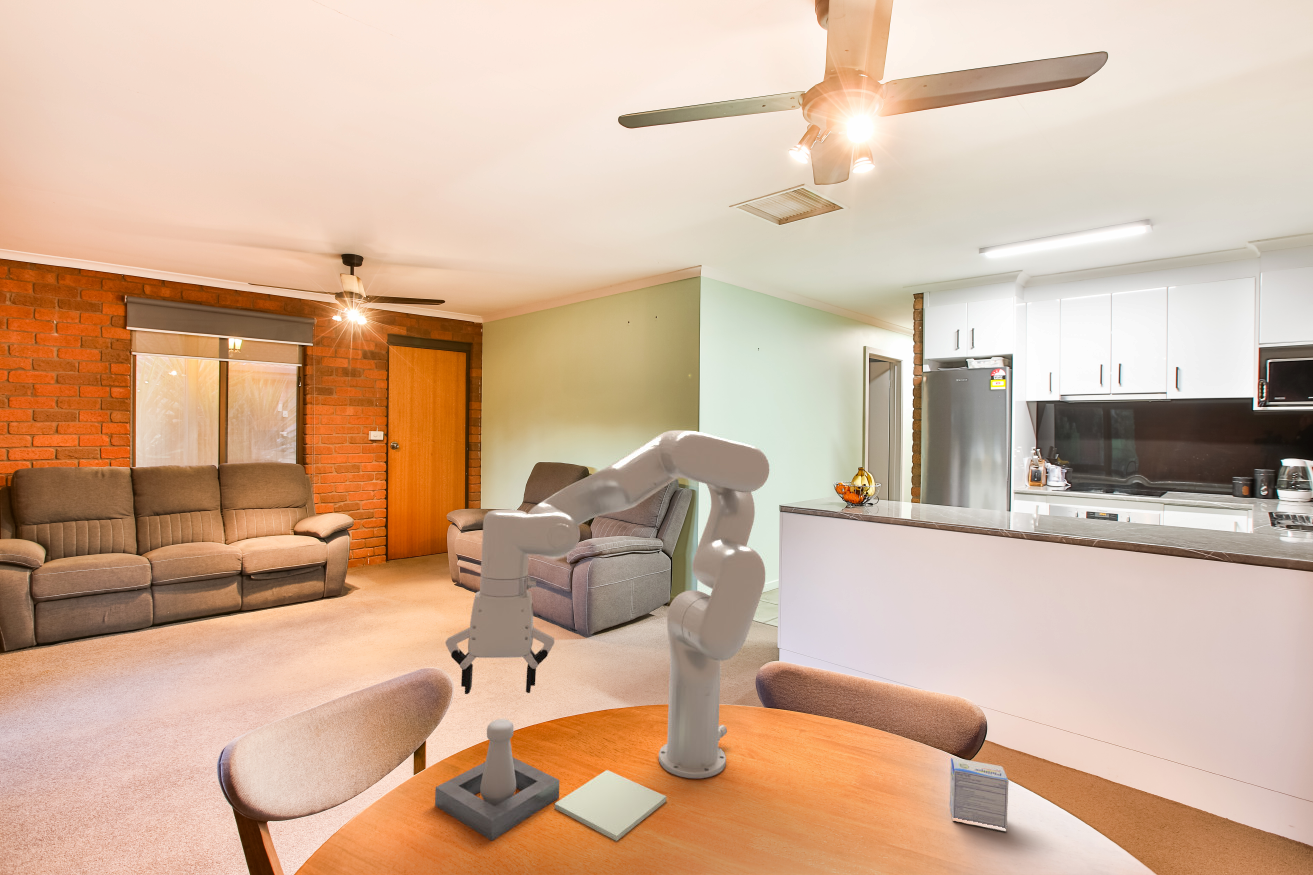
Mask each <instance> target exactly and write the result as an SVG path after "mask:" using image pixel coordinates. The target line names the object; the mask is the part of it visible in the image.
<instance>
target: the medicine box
mask: <svg viewBox="0 0 1313 875" xmlns="http://www.w3.org/2000/svg"><path fill="white" fill-rule="evenodd" d="M1007 776H1008V775H1007V774H1006V771H1005V769H1004V767H1003V766H1001V765H997V764H991V763H986V762H980V761H974V760H968V759H962V758H957V757H951V758H950V776H949V777H950V780H949V781H950V782H949V808H950V807H951V810H950V814H951V813H952V816H951V818H952V817H953V818H958V819H962V820H967V821H973V822H978V823H982V824H987V825H993V826H998V827H1002V828H1005V829H1007V830H1008V806H1009V805H1008V803H1009V785H1010V784H1009V782H1010V781H1009V778H1008V777H1007Z"/></svg>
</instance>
